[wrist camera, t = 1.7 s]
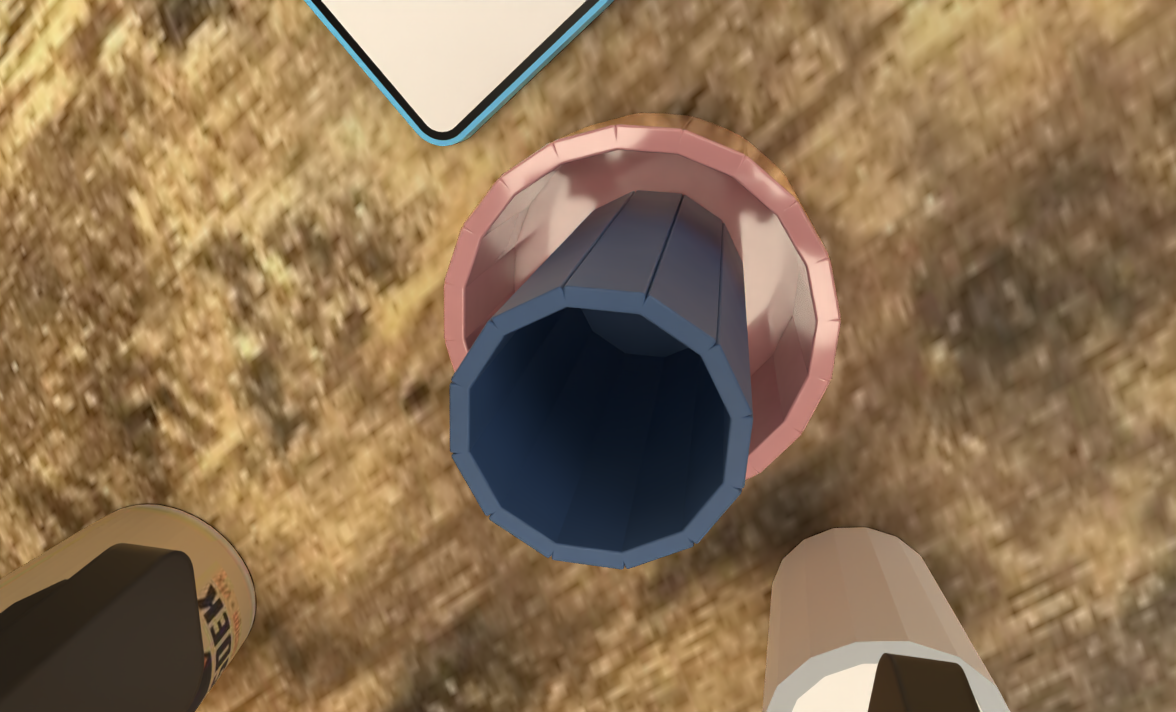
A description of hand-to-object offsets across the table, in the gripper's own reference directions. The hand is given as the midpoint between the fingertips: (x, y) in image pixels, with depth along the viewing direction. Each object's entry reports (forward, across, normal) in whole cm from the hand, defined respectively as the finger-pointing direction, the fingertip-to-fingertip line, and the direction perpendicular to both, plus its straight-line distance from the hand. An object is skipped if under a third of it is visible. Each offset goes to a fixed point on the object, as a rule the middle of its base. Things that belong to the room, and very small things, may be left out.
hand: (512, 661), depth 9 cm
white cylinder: (+19, -8, +11) cm, 23 cm away
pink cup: (+19, 0, 0) cm, 19 cm away
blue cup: (+18, 0, 0) cm, 18 cm away
